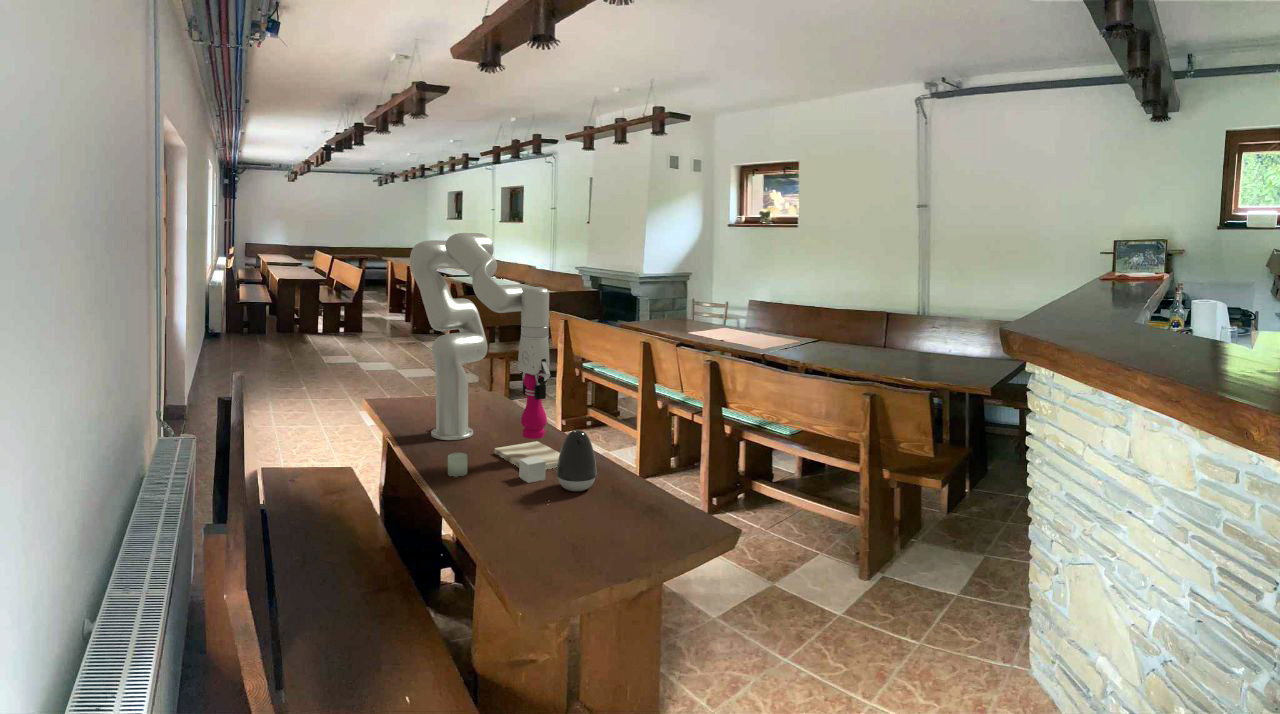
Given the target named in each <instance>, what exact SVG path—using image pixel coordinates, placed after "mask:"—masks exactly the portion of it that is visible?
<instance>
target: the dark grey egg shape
mask: <svg viewBox="0 0 1280 714" xmlns="http://www.w3.org/2000/svg"><path fill="white" fill-rule="evenodd" d="M559 453H560V455H559V458H558V463H557V468H556V472H555V474H556V477H557V480H558V482H559V484H560V485H561V487H562V488H563V489H565V490H567V491H571V492H583V491H586V490H588V489H589V488H591V486H593V484H594V482H595V480H596V477H597V475H598V473H597V472H598V469H597V462H596V456H595V451H594V447H593V445H592V441H591V439H590V438H589V436H588V434H587V433H586V432H585V431H583V430H581V429H574V430H571V431H570V432H569V433H568V434H567V435H566V437H565V438H564V441H563V443H562V446H561V447H560V452H559Z"/></svg>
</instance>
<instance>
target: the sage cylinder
mask: <svg viewBox="0 0 1280 714" xmlns="http://www.w3.org/2000/svg"><path fill="white" fill-rule="evenodd" d="M466 474H467V475H468V454H467V453H464V452H453V453H450V454H448V455H447V475H448V476H449V477H451V476H454V477H453V478H459V477H458V476H463V477H465V476H464V475H466ZM467 475H466V476H467Z"/></svg>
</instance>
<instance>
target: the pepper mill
mask: <svg viewBox="0 0 1280 714" xmlns="http://www.w3.org/2000/svg"><path fill="white" fill-rule="evenodd" d="M538 374H540V372H539V373H538ZM541 377H542V376H539V380H540V378H541ZM523 381H524V385H525V386H526V389H525V391H526V392H525V394H526V405H525V408H524V410H523V412H522V414H521V417H520V423H521V425H522V427H523V429H522V437H523V438H525V439H529V440H530V439H532V440H536V439H537V440H538V439H539V440H540V439H542V438H544V437H545V436H546V430H545V427H546V425H547V423H548V418H547V414H546V411H545V409H544V407H543V403H542V400H543V399H538V400H536V399H535V385H536V380H535V375H530V374H526V375H525V377H524V380H523Z"/></svg>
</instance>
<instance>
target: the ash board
mask: <svg viewBox="0 0 1280 714" xmlns="http://www.w3.org/2000/svg"><path fill="white" fill-rule="evenodd" d="M494 455H496V456H498V455H499V457H500V458H502V459H503V458H504V460H505V461H507V462H508V461H509V463H510V464H512V465H513V464H514V465H513V466H515V465H516V466H515V467H517V468H519V459H524V458H530V457H538V458H540V459H542V460H544V461H546V471H547V469H548V470H552V468H553V469H557V468H556V467H557V463H558V458H559V455H560V452H559V451H557V450H555V449H554V448H552V447H550V446H548V445H546V444H544V443H542V442H540V441H537V440H536V441H531V442H525V443H519V444H512V445H507V446H502V447H500V446H499V447H495V448H494Z"/></svg>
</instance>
